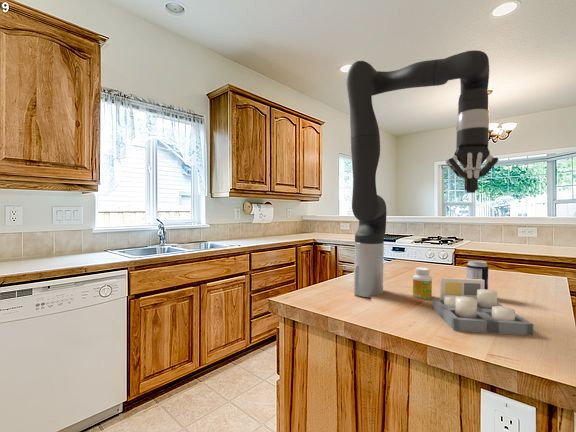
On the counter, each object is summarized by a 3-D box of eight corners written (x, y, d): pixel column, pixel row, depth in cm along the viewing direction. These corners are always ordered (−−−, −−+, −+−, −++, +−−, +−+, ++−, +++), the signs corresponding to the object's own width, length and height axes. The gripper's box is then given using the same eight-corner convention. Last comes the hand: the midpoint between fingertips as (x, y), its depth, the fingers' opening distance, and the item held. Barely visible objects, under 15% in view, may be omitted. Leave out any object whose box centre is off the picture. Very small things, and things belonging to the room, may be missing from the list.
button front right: (497, 329, 69) (497, 311, 69) (488, 321, 74) (488, 305, 73) (518, 330, 68) (519, 312, 68) (508, 323, 73) (508, 306, 73)
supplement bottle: (423, 303, 92) (423, 271, 92) (408, 298, 97) (409, 267, 97) (435, 300, 95) (435, 269, 94) (420, 296, 99) (421, 266, 99)
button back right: (481, 309, 77) (481, 293, 77) (473, 303, 81) (474, 288, 81) (500, 310, 76) (500, 294, 76) (491, 304, 81) (492, 289, 81)
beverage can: (490, 303, 92) (491, 263, 92) (470, 301, 94) (471, 262, 93) (482, 297, 98) (483, 260, 98) (463, 296, 99) (464, 259, 99)
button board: (453, 334, 69) (454, 295, 69) (430, 309, 87) (431, 277, 86) (532, 340, 66) (533, 299, 66) (492, 312, 84) (493, 279, 84)
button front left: (459, 318, 70) (459, 301, 70) (452, 311, 75) (452, 295, 75) (480, 319, 70) (480, 302, 70) (471, 313, 74) (472, 296, 74)
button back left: (447, 314, 78) (447, 299, 78) (441, 309, 83) (441, 294, 83) (465, 315, 78) (466, 300, 78) (459, 310, 82) (459, 295, 82)
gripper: (451, 126, 81) (449, 192, 82) (506, 124, 79) (504, 191, 79) (442, 133, 89) (440, 193, 89) (492, 131, 86) (490, 193, 87)
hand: (470, 192), depth 84 cm, fingers closed
